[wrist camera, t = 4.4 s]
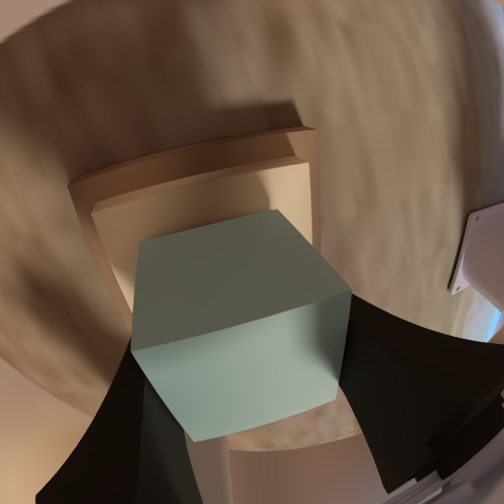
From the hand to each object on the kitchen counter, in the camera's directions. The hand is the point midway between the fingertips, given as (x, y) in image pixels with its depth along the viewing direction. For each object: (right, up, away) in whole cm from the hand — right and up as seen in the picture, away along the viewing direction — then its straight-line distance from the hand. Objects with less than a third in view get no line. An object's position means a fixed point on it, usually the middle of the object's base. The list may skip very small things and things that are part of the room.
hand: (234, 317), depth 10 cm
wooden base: (-1, +2, +4) cm, 5 cm away
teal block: (-1, +1, +2) cm, 2 cm away
